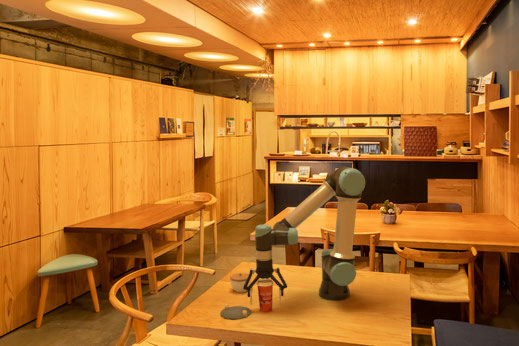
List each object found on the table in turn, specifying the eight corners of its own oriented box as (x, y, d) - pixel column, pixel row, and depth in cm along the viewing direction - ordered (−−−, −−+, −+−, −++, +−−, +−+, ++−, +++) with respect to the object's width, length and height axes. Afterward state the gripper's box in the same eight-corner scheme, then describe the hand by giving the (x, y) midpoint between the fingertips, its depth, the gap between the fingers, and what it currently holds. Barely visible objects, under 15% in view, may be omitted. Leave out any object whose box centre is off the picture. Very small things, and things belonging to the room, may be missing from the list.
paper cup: (260, 314, 231) (259, 284, 230) (255, 308, 239) (254, 279, 237) (276, 311, 233) (275, 282, 232) (271, 306, 241) (270, 277, 239)
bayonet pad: (251, 307, 240) (251, 301, 240) (250, 319, 226) (250, 312, 226) (221, 308, 240) (221, 302, 240) (219, 320, 226) (218, 314, 226)
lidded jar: (252, 287, 269) (251, 270, 268) (250, 294, 258) (249, 276, 257) (232, 287, 270) (231, 270, 269) (229, 294, 259) (228, 276, 258)
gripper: (290, 255, 237) (292, 299, 239) (237, 257, 237) (239, 301, 240) (291, 259, 230) (293, 305, 232) (236, 261, 230) (238, 307, 232)
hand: (265, 303), depth 236 cm, fingers open, 13 cm apart
